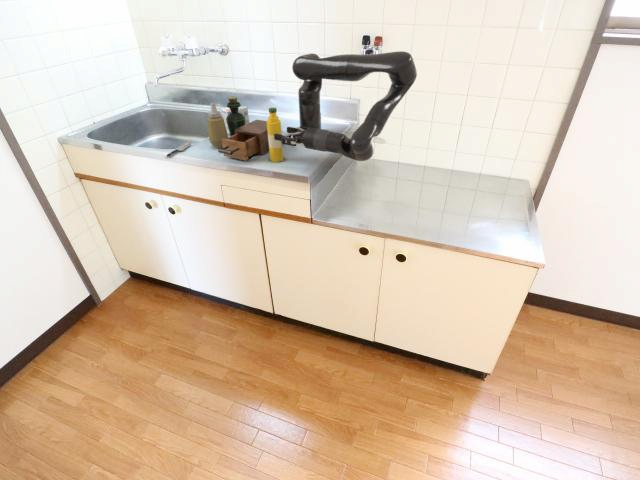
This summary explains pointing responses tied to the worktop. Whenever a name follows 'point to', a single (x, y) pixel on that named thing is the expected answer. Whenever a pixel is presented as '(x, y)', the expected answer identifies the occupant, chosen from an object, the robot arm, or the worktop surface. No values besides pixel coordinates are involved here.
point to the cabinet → (257, 134)
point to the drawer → (240, 146)
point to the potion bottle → (234, 116)
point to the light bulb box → (241, 110)
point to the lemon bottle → (272, 129)
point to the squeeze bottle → (216, 127)
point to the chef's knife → (180, 148)
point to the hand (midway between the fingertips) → (281, 132)
